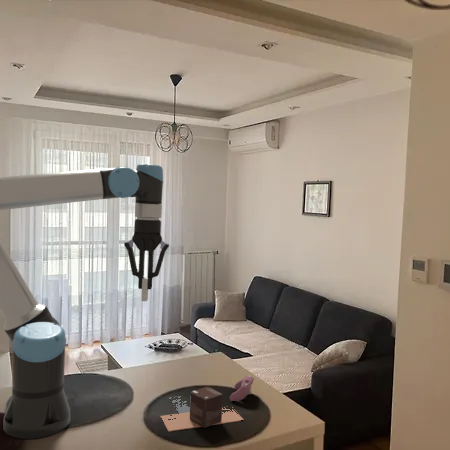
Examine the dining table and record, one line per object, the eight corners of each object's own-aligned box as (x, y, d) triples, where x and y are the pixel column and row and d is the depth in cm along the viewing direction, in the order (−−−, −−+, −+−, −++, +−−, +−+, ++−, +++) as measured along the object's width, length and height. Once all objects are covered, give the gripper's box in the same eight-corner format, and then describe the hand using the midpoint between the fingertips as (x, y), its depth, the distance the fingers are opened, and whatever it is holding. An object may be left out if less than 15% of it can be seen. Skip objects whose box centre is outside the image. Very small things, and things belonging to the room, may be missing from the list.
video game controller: (241, 409, 130) (254, 388, 129) (227, 400, 131) (240, 379, 130) (246, 395, 140) (258, 376, 139) (233, 386, 140) (245, 367, 139)
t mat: (151, 400, 129) (151, 399, 129) (218, 392, 137) (218, 391, 137) (168, 431, 112) (168, 430, 112) (243, 420, 120) (243, 419, 120)
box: (222, 422, 118) (223, 393, 118) (203, 429, 114) (205, 399, 114) (206, 413, 123) (208, 385, 122) (188, 419, 119) (190, 391, 118)
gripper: (171, 219, 137) (168, 298, 139) (127, 217, 137) (124, 296, 138) (169, 220, 130) (166, 304, 131) (122, 218, 129) (119, 302, 131)
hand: (144, 300), depth 135 cm, fingers closed
